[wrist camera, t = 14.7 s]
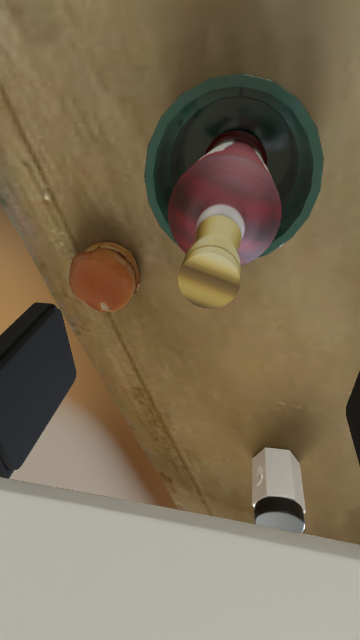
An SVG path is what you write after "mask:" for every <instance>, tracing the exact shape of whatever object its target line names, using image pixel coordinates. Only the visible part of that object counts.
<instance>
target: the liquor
mask: <svg viewBox="0 0 360 640" xmlns="http://www.w3.org/2000/svg"><path fill="white" fill-rule="evenodd" d="M280 220H281V201H280V197H279V192H278V190H277V188H276V186H275V184H274V182H273V179H272V177H271V175H270V173H269V171H268V168H267V157H266V152H265V150H264V148H263V145H262V144H261V143H260V141H259V140H258V139H257V138H256V137H254V136H253V135H251V134H249V133H247V132H244V131H229V132H226V133H224V134H221V135H220V136H218V137H217V138H216V139H215V140H214V141H213V142H212V143H211V144H210V145H209V147H208V148H207V150H206V152H205V155H204V156H203V157H201V158H200V159H199V160H198V161H197V162H196V163H195V164H194V165H192V166H191V167H190V168H189V169H188V170H187V171H186V172H185V173H184V174H183V175H182V176H181V177H180V179H179V180H178V182H177V183H176V185H175V186H174V189H173V191H172V194H171V196H170V200H169V205H168V221H169V226H170V230H171V232H172V235H173V237H174V239H175V241H176V242H177V244H178V246H179V247H180V248H181V249H182V250H183V251H184V252H185V254H186V256H185V258H184V261H183V263H182V266H181V268H180V271H179V275H178V284H179V288H180V290H181V293H182V294H183V295H184V297H185V298H186V299H187V300H188V301H190V302H191V303H192V304H194V305H196V306H199V307H202V308H218V307H221V306H224V305H226V304H227V303H229V302H230V301H231V300H232V299H233V298H234V297H235V296H236V294H237V292H238V289H239V284H240V270H241V265H244V264H247V263H249V262H251V261H253V260H254V259H256V258H257V257H258V256H260V255H261V254H262V253H263V252H264V251H265V250H266V249H267V248H268V247H269V246H270V244H271V243H272V241H273V239H274V238H275V236H276V233H277V231H278V228H279V225H280Z"/></svg>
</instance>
